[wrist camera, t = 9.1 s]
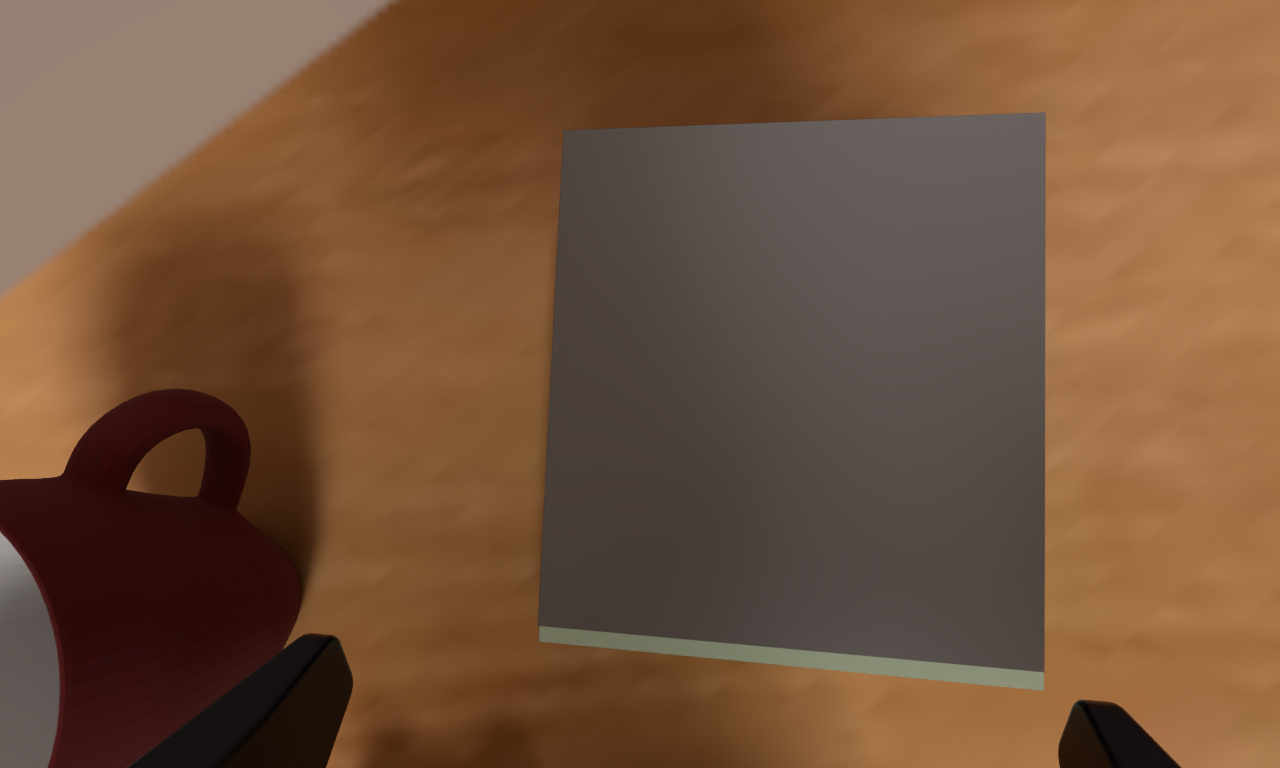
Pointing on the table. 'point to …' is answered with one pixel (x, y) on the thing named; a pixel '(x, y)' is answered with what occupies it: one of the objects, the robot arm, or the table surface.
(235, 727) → the robot arm
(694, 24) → the table surface
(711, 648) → the socket base
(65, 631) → the mug
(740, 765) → the table surface
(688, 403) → the gray block
